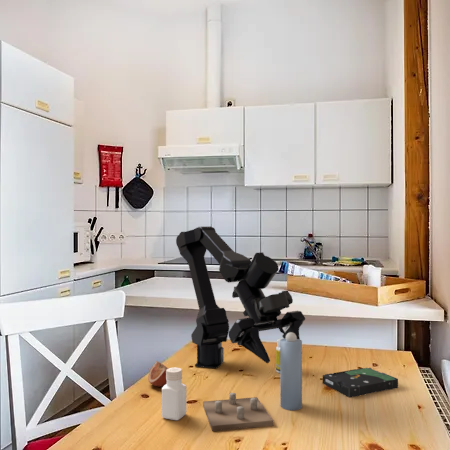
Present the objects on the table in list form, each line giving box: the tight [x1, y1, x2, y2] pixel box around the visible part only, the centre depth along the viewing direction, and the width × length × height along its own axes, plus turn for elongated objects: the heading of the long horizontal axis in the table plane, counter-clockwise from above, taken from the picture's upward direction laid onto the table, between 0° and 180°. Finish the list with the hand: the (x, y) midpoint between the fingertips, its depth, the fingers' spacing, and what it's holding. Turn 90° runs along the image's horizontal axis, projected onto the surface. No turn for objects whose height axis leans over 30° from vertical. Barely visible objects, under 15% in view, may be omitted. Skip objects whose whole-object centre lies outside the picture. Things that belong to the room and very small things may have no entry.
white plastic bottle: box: [161, 366, 187, 421], centre depth 93 cm, size 4×4×10 cm
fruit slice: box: [147, 360, 170, 388], centre depth 111 cm, size 8×7×5 cm
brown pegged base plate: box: [202, 392, 274, 432], centre depth 93 cm, size 12×12×3 cm
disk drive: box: [322, 367, 399, 398], centre depth 110 cm, size 10×3×15 cm
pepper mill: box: [279, 332, 303, 411], centre depth 98 cm, size 5×5×16 cm
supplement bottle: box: [275, 337, 284, 374], centre depth 121 cm, size 5×5×8 cm
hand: (285, 358), depth 100 cm, fingers open, 9 cm apart
